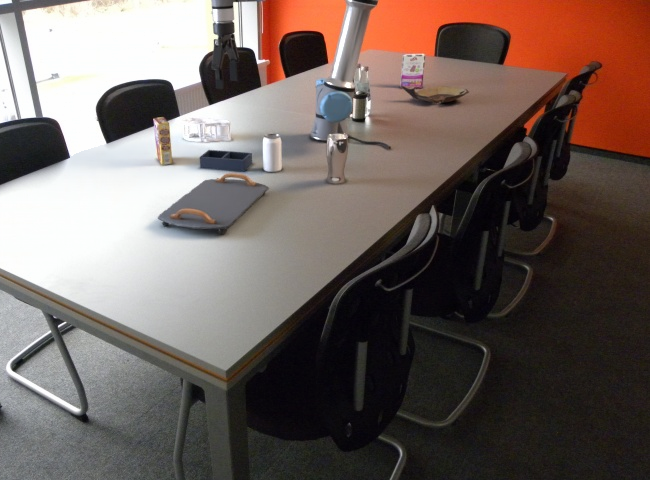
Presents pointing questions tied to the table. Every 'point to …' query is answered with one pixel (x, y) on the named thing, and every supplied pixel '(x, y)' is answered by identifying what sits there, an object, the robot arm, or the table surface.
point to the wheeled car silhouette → (201, 127)
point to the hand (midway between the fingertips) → (227, 84)
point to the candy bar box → (412, 70)
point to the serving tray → (214, 203)
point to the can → (272, 153)
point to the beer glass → (336, 157)
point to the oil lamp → (437, 93)
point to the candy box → (163, 140)
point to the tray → (226, 160)
